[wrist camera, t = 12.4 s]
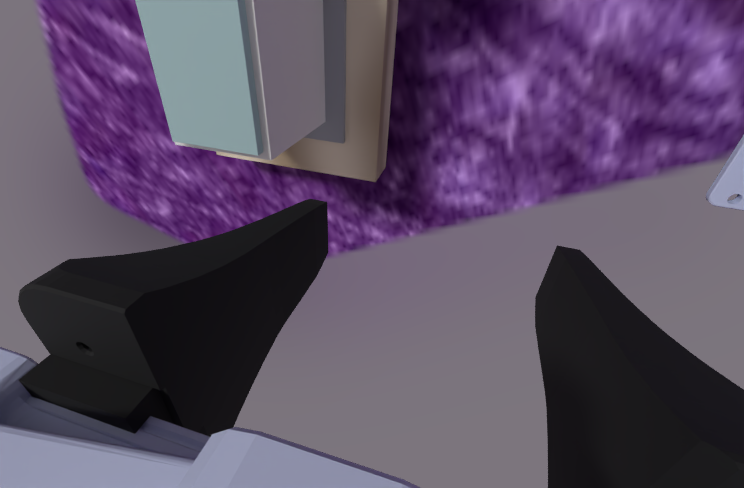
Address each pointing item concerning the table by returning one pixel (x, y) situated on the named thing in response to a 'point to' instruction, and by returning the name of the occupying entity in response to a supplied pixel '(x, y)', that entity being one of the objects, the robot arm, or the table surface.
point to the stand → (351, 93)
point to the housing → (238, 71)
